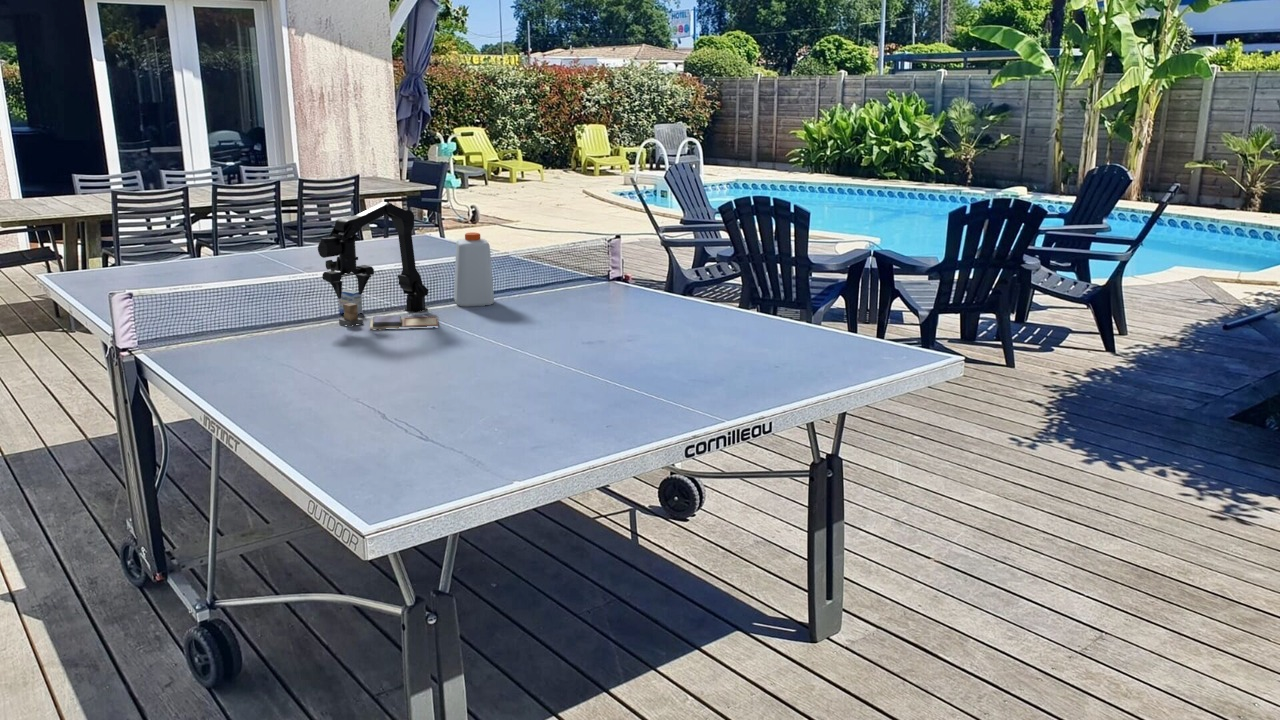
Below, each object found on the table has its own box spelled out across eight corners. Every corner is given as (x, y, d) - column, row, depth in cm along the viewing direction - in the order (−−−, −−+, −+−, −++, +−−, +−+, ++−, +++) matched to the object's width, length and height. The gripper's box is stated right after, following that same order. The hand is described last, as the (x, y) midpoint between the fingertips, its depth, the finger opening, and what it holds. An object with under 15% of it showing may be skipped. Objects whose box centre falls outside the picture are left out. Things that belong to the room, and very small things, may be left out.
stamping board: (436, 320, 376) (436, 313, 375) (438, 328, 365) (438, 321, 364) (370, 321, 370) (370, 315, 370) (370, 330, 359) (369, 323, 359)
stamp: (352, 321, 371) (351, 301, 369) (363, 324, 367) (362, 304, 365) (339, 324, 366) (338, 304, 364) (349, 327, 363) (348, 307, 361)
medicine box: (338, 313, 382) (337, 290, 379) (347, 310, 386) (346, 288, 383) (354, 316, 378) (353, 293, 376) (363, 313, 382) (361, 291, 380)
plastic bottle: (452, 299, 409) (450, 230, 401) (489, 297, 413) (488, 230, 405) (457, 307, 395) (455, 237, 387) (495, 306, 399) (494, 236, 391)
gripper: (354, 247, 371) (356, 289, 376) (311, 254, 357) (314, 297, 361) (374, 251, 365) (376, 293, 369) (331, 258, 351) (333, 302, 355)
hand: (350, 296), depth 364 cm, fingers open, 9 cm apart
